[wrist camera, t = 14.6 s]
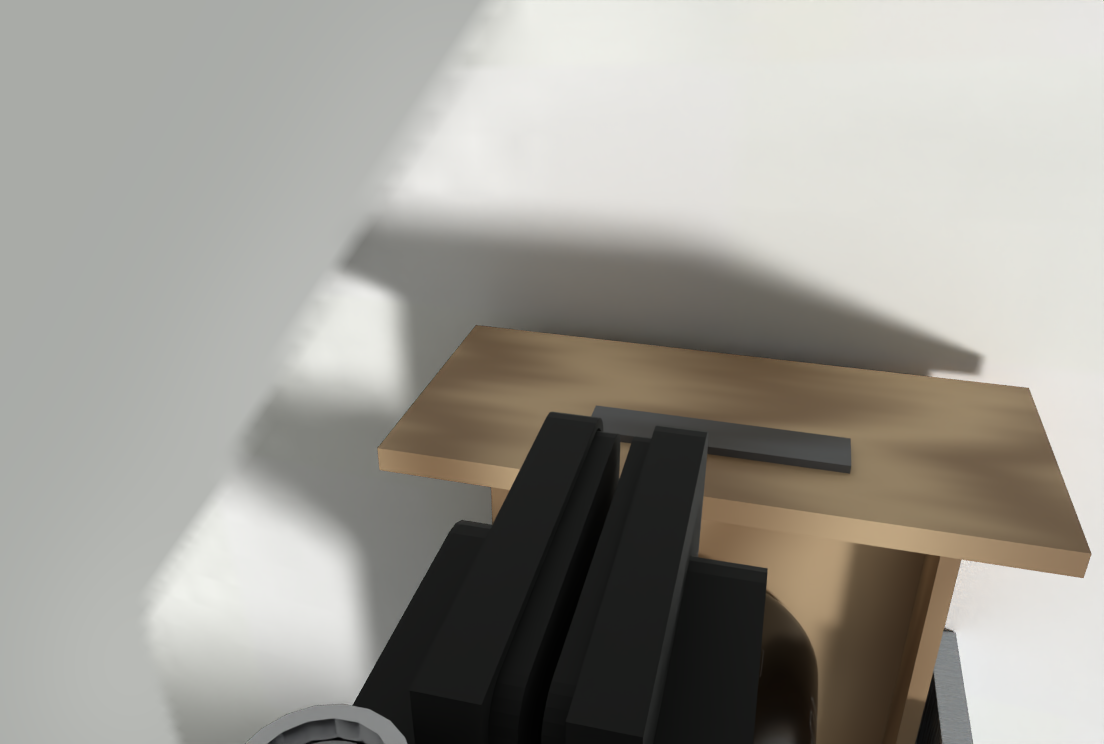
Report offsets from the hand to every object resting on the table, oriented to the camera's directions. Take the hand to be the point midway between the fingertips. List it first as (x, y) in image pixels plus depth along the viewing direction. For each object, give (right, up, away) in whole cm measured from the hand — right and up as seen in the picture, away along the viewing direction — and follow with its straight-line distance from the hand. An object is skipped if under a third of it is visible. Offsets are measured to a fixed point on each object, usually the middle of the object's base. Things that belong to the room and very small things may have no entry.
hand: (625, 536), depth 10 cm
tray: (+4, -5, +19) cm, 20 cm away
